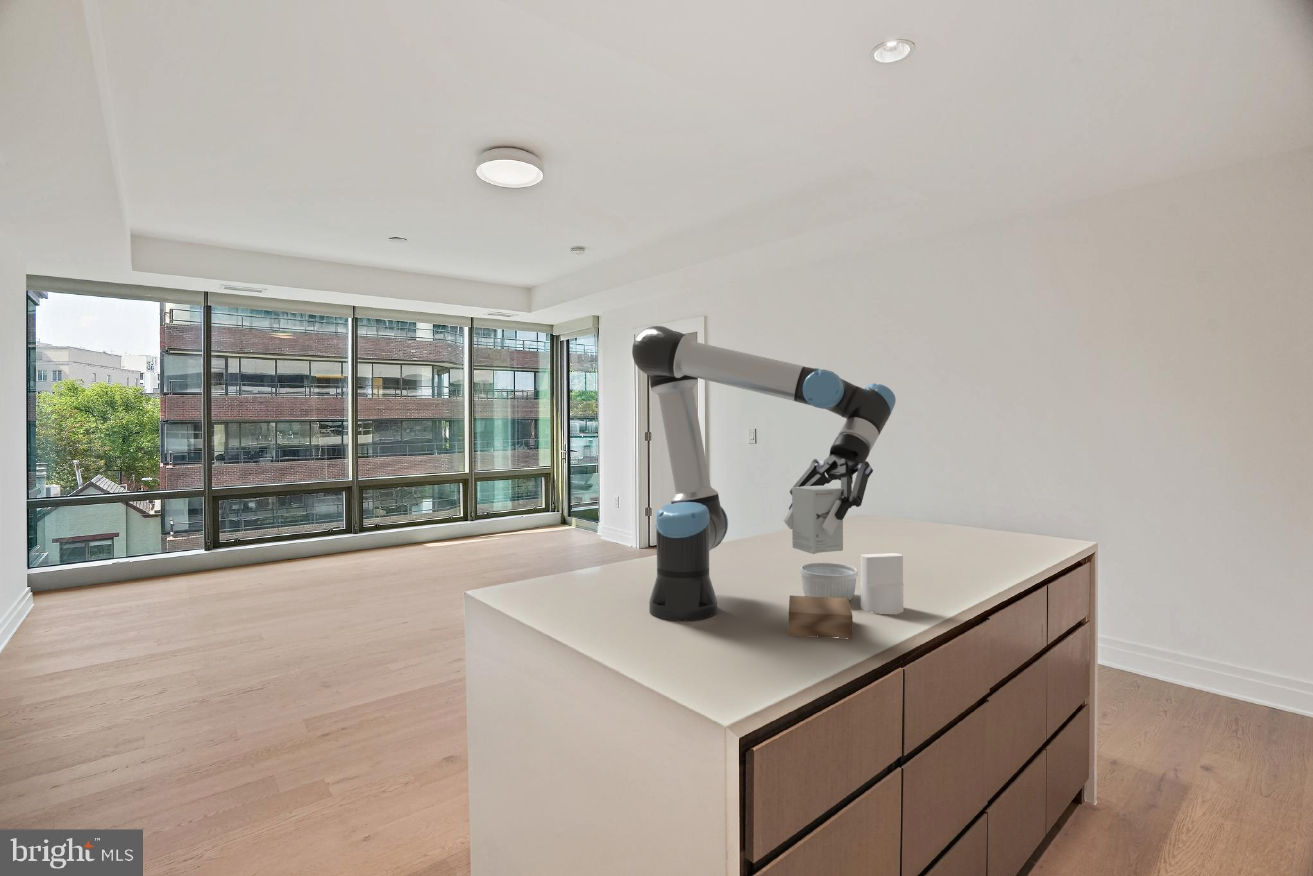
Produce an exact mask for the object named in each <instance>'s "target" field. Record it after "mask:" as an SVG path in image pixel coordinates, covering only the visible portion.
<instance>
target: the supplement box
mask: <svg viewBox="0 0 1313 876" xmlns="http://www.w3.org/2000/svg"><path fill="white" fill-rule="evenodd" d="M791 489H792V495H791V503H792V529H791V530H792V533H791V535H792V548H793V549H794V550H795V549H796V550H799V551H802V552H805V553H809V554H812V555H815V554H816V555H817V554H818V553H819V554H820V553H830V552H842V551H843V550H844V518H843V519H842V520H840V521H839V523H838V524H837V526H836V528H835V530H834V532H833V534H832V535H828V534H827V532H826V531H825V529H824V528H823V524H824V522H825V520H826V518H827V517H828V515H829V513H830V511H831V509H832V507H833V506H834V504H835V502H836V500H840V502H842V500H841V499H840V498H841V492H842V490H843V488H841V487H836V486H828V485H824V486H803V487H793V486H792V487H791Z"/></svg>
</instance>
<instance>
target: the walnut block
mask: <svg viewBox="0 0 1313 876" xmlns="http://www.w3.org/2000/svg"><path fill="white" fill-rule="evenodd" d="M788 602H789V603H788V636H793V637H805V636H816V637H815V638H821V637H839V638H848V639H847V640H853V623H854V622H853V618H854V617H853V616H854V615H853V611H852V608H851V605H850V601H849V600H848V598H830V597H810V596H806V595H789V601H788ZM817 636H818V637H817Z"/></svg>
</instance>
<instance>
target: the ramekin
mask: <svg viewBox="0 0 1313 876" xmlns="http://www.w3.org/2000/svg"><path fill="white" fill-rule="evenodd" d="M799 573H800V575H801V584H802V591H803V594H804V596H810V597H830V598H848V600H849V602H850V601H851V600H852V599H853V598H854V596H855V593H856V592H855V591H856V585H857V577H858V570H857V568H856V567H854V566H853V565H848V564H846V563H845V564H843V563H839V562H826V561H825V562H810V563H805V564H803V565H801V566H800V568H799Z"/></svg>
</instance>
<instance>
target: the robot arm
mask: <svg viewBox="0 0 1313 876" xmlns="http://www.w3.org/2000/svg"><path fill="white" fill-rule="evenodd" d="M631 349H632V350H631V354H632V355H631V356H632V359H633V362H634V364H635V365H636V367H637V368H638V369H639V370H640V371H641V372H642V373H644V374H646V375H648V379H649V385H650V390H651V391H652V392H653V393H654V394H656V395H657V396H658V400H659V406H660V411H661V416H662V422H663V428H664V434H665V440H666V446H667V451H668V456H669V462H670V467H671V468H670V469H671V474H672V479H673V486H674V490H675V491H674V495H673V496H672V498H671V499H670V502H671V503H668V504H665V505H663V506H661V507H660V508H659V509H658V510H657V512H656V513H657V514H656V521H655V530H656V578H655V583H654V586H653V588H652V592H651V594H650V597H649V602H648V603H649V604H648V605H649V606H648V609H649V612H650V614H651V615H652V616H655V617H657V618H660V619H663V620H670V621H696V620H704V619H707V618H711V617H713V616H715V615H716V614H717V613H718V611H719V610H718V607H719V606H718V603H719V602H718V599H717V596H716V592H715V589H714V586H713V583H712V580H711V577H710V552H711V550H713V549H716V548H717V547H718V546H719V545H720V544H721V543H722V542H723V540H724V539H725V536H726V534H727V532H728V527H729V520H728V515H727V513H726V511H725V509H724V508H723V507H722V506H721V501H720V496H719V492H718V491H717V490H715V488H713V487H712V486H711V481H710V475H709V471H708V469H709V468H708V465H707V458H706V454H705V447H704V442H703V435H702V431H701V430H702V429H701V425H700V421H699V415H698V407H697V403H696V398H695V393H694V388H695V387H696V385H697V383H699V380H698V379H700V380H704V381H708V382H713V383H717V384H721V385H725V386H730V387H733V388H737V389H742V390H745V391H750V392H755V393H759V394H762V395H763V394H764V395H767V396H772V397H775V398H780V399H783V400H784V399H785V400H788V401H793V402H795V403H799V404H803V405H807V406H812V407H814V408H818V409H825V410H827V411H829V412H831V413H833V414H836V415H838V416H840V417H842V418H844V419H846V421H845V422H844V424H843V425H842V426H841V427H842V428H840V431H838V435H837V436H836V438H835V439H834V441H833V443H832V444H831V446H830V449H829V455H828V456H827V458H825V459H824V460H822V461H821V460H820V461H819V460H818V459H817V458H814V459H812V461H811V462H810V465H809V467H808V468H807V469H806V471H805V472H804V473H803V474H802V476H800V478H799V479H798V480H797V481H796V483H795V484H794V485H793V486H792V487H803V486H826V484H828V485H829V484H830V483H831V482H833V481H837V480H838V481H840V488H843V490H842V492H841V498H840V499H841V500H842V502H840V500H836V502H835V504H834V506H833V507H832V509H831V511H830V513H829V515H828V517H827V518H826V520H825V522H824V524H823V528H824V529H825V531H826V532H827V534H828V535H832V534H833V532H834V530H835V528H836V526H837V524H838V523H839V521H840V520H842V519H843V520H844V518H845V516H847V515H846V514H847V513H848V511H849V509H851V508H852V507H857V508H859V507H861V506H862V503H863V500H864V495H865V492H866V489H867V486H868V485H867V484H868V482H869V478H870V476H871V475H872V474H873V472H874V469H873V468H872V466H871V465H870V463H869V461H867V459H868V457H869V455H870V452H871V451H872V449H873V448H874V445H875V443H876V442H877V440H878V438H879V436H880V434H881V433H882V431H883V429H884V427H885V426H886V424H887V422H888V420H889V419H890V416H891V414H892V412H893V409H894V408H895V405H896V401H897V400H896V399H897V398H896V395H895V393H894V392H893V391H892V389H891V388H889V387H887V386H886V385H884V384H877V383H870V384H868V385H866V386H865V387H864V388H863V387H862V386H857V385H855V384H853V383H851V382H849V381H847V380H845V379H843V378H841V377H840V376H839V375H838V374H836V373H835V371H831V370H827V369H820V368H818V367H815V368H813V367H809V366H804V365H801V364H796V363H793V362H792V363H791V362H787V361H783V360H778V359H774V358H769V357H765V356H759V355H755V354H753V353H747V352H743V351H738V350H737V351H736V350H735V349H734V350H733V349H730V348H729V349H728V348H725V347H720V346H715V345H711V344H706V343H701V342H697V341H693V340H692V338H691V337H690V336H689V335H687V334H684V333H683V332H680V331H678V330H677V331H676V330H673V329H670V328H668V327H666V326H662V325H653V326H648V327H647V328H645V329H643V330H642V331H640V332H639V333H638V334H637V336H636V337H635V339H634V341H633V343H632V348H631ZM855 474H856V477H855V480H853V479H854V478H853V477H854V475H855ZM853 481H854V483H853ZM852 486H853V487H852ZM789 493H790V495H791V496H792V488H790V490H789ZM783 522H784V523H785V525H786V526H787V527H788V528H789V529H790V530H792V502H791V503H790V506H789V507H788V513H787V514H786V516H785V518H784V519H783Z"/></svg>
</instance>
